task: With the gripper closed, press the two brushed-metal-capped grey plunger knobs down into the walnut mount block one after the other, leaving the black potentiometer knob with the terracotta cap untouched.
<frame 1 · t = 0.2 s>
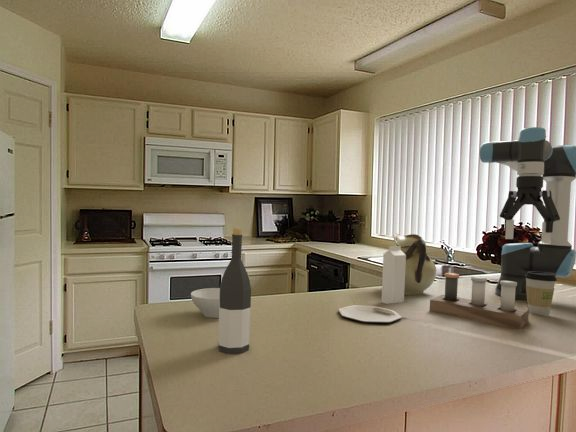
hand: (526, 241, 133), 27 cm above the counter, fingers open, 13 cm apart
bowl: (215, 315, 131), on the counter
milk: (392, 303, 155), on the counter
knob left: (507, 295, 131), point 9 cm above the counter, slide at 0.0 cm
pot knob: (451, 286, 143), point 9 cm above the counter, slide at 0.0 cm
coffee cup: (538, 315, 146), on the counter
wine bottle: (233, 349, 101), on the counter
mount: (477, 319, 137), on the counter
knob mid: (478, 291, 137), point 9 cm above the counter, slide at 0.0 cm
pitcher: (409, 293, 176), on the counter
plate: (368, 317, 136), on the counter
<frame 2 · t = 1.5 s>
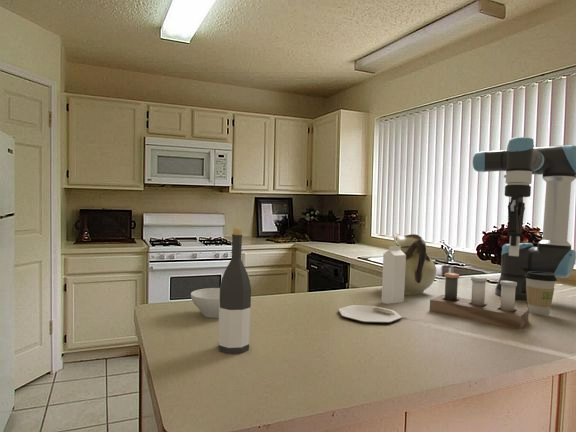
hand: (513, 255, 135), 22 cm above the counter, fingers closed
nothing on the counter moved.
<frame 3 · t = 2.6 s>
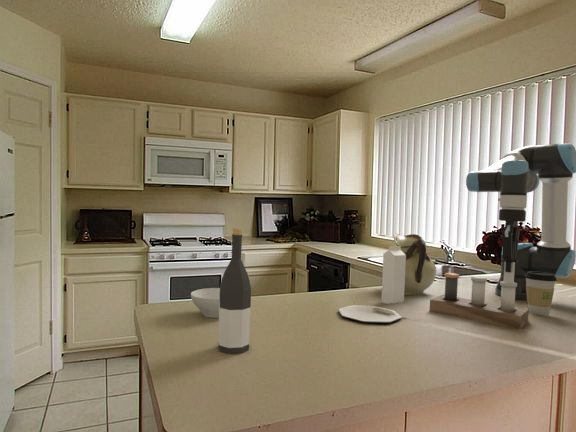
hand: (508, 281, 131), 14 cm above the counter, fingers closed
knob left: (507, 296, 131), point 9 cm above the counter, slide at 0.2 cm, touching gripper
everything else where it was.
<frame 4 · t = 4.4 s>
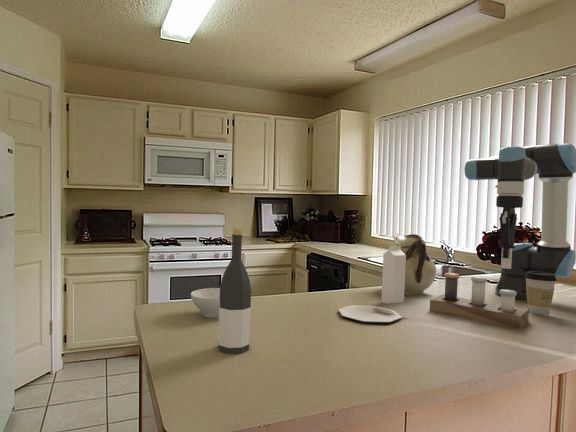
hand: (505, 268, 131), 18 cm above the counter, fingers closed
knob left: (507, 304, 131), point 7 cm above the counter, slide at 2.9 cm
everything else where it was.
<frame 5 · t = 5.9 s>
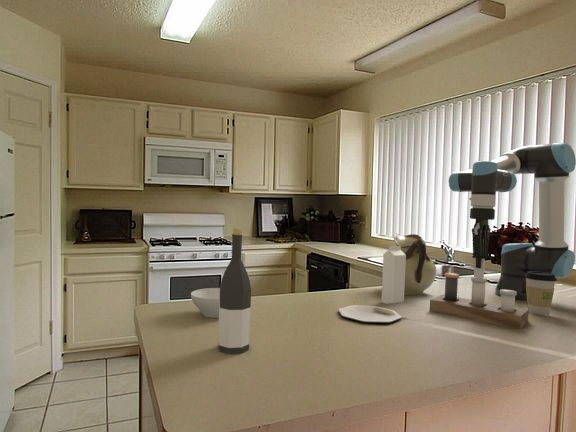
hand: (478, 277, 137), 14 cm above the counter, fingers closed
knob mid: (478, 291, 137), point 9 cm above the counter, slide at 0.1 cm, touching gripper
everything else where it was.
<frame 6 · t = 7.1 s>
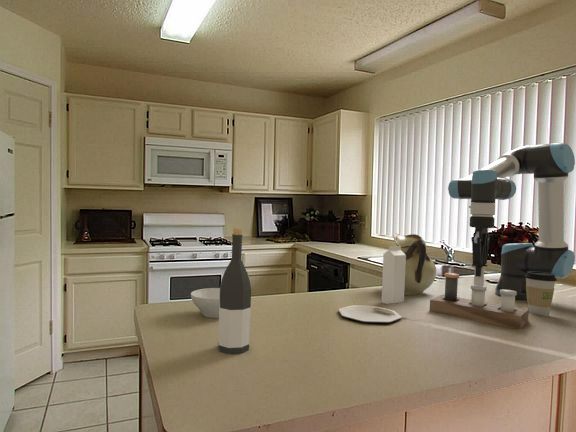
hand: (478, 285, 137), 11 cm above the counter, fingers closed
knob mid: (477, 299, 137), point 7 cm above the counter, slide at 2.9 cm
everything else where it was.
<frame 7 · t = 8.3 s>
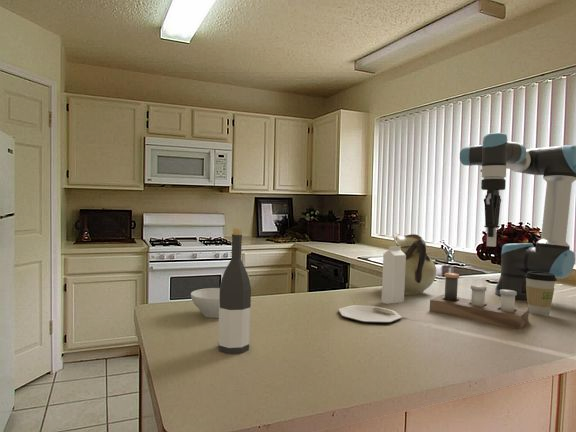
hand: (491, 246, 142), 24 cm above the counter, fingers closed
nothing on the counter moved.
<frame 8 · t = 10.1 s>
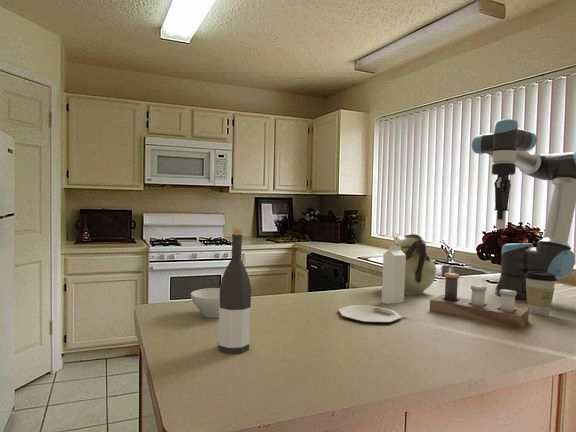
hand: (500, 228, 147), 30 cm above the counter, fingers closed
nothing on the counter moved.
at the end: knob left slide at 2.9 cm; knob mid slide at 2.9 cm; pot knob slide at 0.0 cm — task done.
